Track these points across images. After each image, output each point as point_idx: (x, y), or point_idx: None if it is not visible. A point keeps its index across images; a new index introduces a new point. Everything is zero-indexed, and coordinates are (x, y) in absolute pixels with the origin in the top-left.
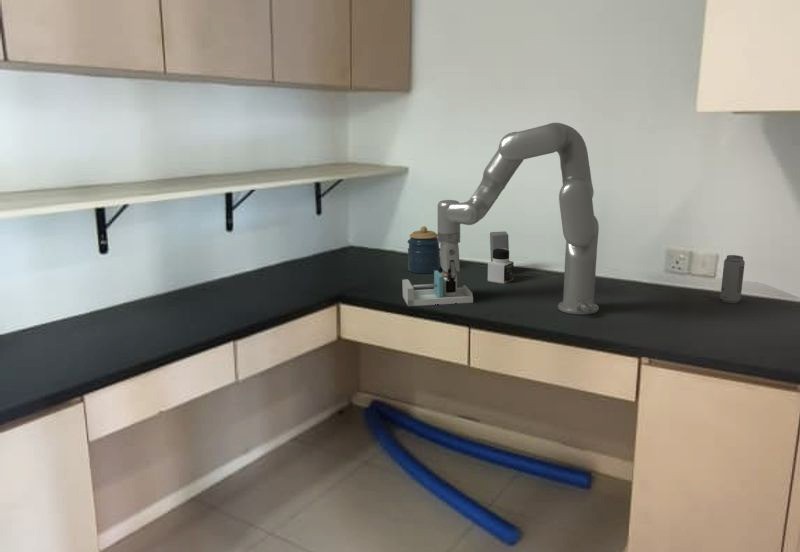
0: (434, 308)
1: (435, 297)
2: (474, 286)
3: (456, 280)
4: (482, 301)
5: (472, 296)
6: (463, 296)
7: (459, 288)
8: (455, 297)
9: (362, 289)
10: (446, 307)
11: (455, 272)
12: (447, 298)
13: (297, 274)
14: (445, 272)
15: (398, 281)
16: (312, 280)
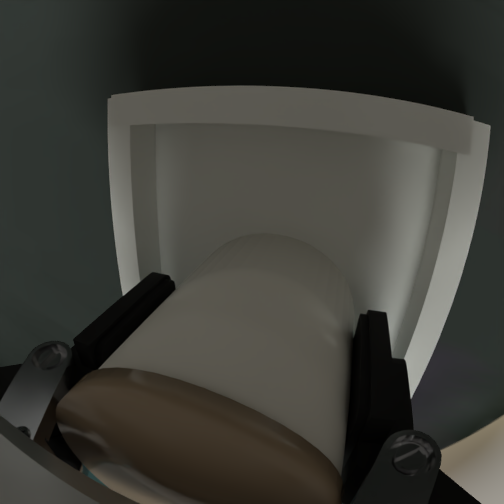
0: (448, 422)
1: None
2: (34, 24)
3: (302, 363)
4: (449, 27)
5: (479, 126)
6: (445, 222)
7: (128, 156)
8: (439, 310)
9: None
10: (476, 367)
11: (113, 411)
12: (422, 373)
13: None
14: (131, 489)
15: (3, 349)
16: None
